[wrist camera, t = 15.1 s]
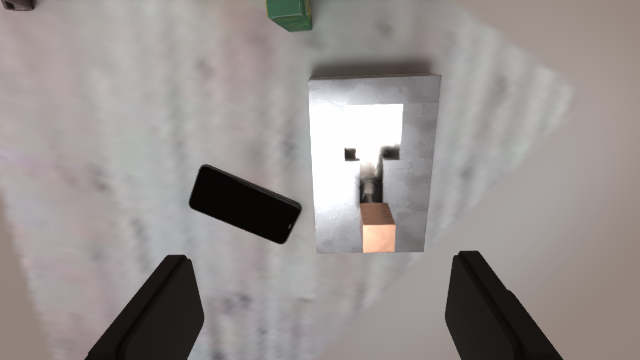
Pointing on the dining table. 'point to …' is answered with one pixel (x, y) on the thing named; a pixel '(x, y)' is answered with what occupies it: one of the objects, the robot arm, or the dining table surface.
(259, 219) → the smartphone
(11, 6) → the portable electronic device stand
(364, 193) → the peg
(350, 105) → the keyhole plate
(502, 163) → the dining table surface
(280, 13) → the coffee box
